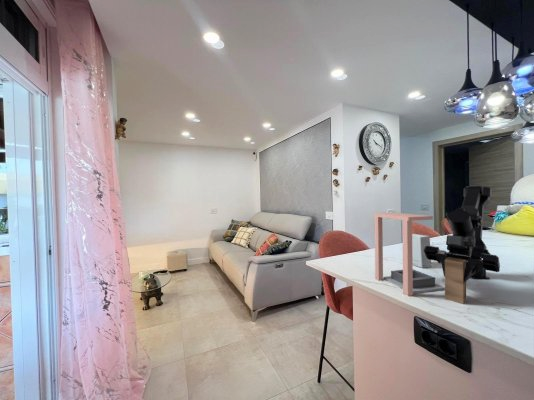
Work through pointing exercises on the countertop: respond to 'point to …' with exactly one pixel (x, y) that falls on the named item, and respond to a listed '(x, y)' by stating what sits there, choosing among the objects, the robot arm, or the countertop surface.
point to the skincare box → (420, 250)
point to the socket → (415, 281)
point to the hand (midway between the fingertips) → (454, 279)
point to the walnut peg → (455, 280)
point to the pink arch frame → (407, 246)
